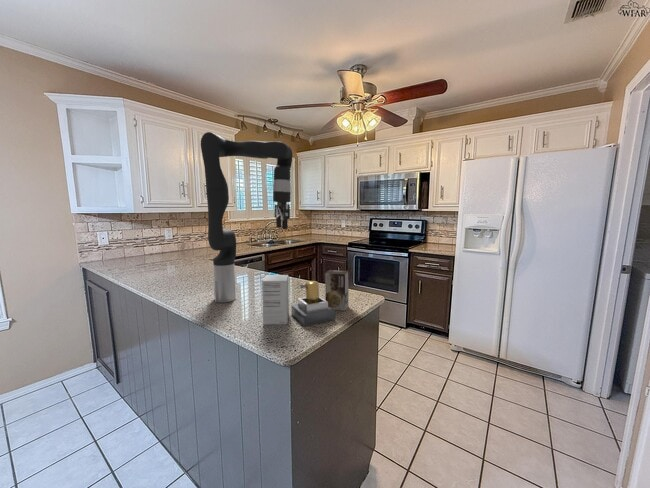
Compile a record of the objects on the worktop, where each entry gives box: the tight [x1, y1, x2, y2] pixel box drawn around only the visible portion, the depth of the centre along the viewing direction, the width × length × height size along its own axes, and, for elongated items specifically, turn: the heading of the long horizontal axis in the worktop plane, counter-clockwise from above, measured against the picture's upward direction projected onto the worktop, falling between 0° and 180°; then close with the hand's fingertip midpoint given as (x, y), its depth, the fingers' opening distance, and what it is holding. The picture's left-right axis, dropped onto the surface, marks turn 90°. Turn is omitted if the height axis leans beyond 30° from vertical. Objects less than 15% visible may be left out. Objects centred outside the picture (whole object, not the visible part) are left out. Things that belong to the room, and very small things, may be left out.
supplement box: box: [261, 274, 290, 326], centre depth 104 cm, size 10×9×17 cm
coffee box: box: [324, 269, 350, 312], centre depth 118 cm, size 9×6×16 cm
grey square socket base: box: [291, 295, 336, 327], centre depth 108 cm, size 13×13×7 cm
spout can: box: [299, 280, 320, 304], centre depth 107 cm, size 5×7×10 cm
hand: (281, 228), depth 120 cm, fingers open, 8 cm apart
